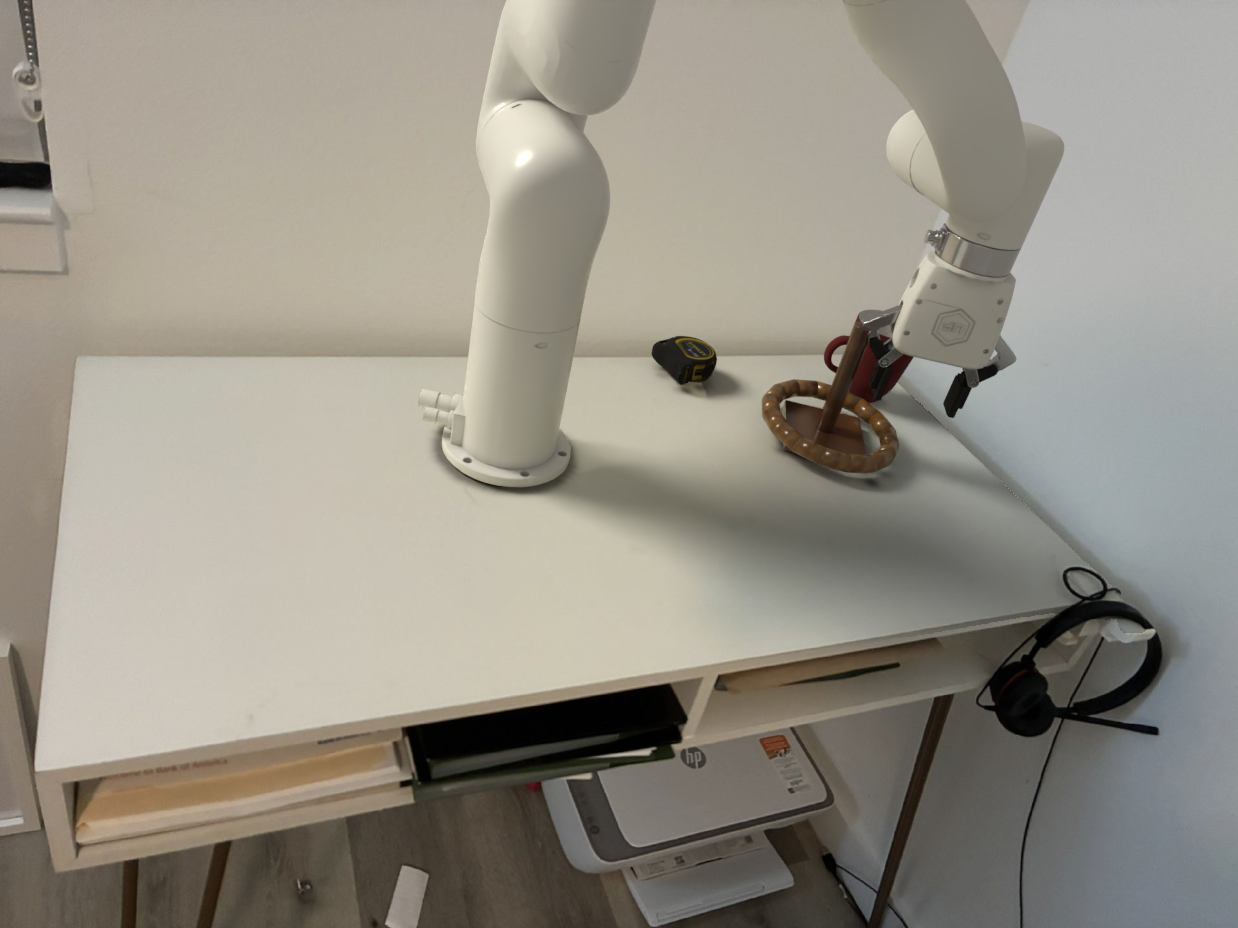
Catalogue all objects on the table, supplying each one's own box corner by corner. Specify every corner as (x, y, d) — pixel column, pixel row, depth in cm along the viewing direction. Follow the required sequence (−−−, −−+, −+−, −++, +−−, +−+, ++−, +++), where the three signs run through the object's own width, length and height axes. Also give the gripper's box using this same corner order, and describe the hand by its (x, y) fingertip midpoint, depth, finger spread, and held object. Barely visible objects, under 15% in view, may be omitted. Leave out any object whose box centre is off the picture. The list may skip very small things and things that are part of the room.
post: (783, 450, 101) (825, 334, 93) (781, 410, 109) (820, 299, 101) (862, 469, 101) (911, 354, 93) (855, 427, 109) (900, 318, 101)
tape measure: (646, 362, 112) (652, 335, 110) (692, 358, 115) (699, 331, 113) (674, 391, 107) (681, 364, 105) (721, 386, 110) (729, 359, 108)
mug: (824, 407, 111) (852, 334, 106) (804, 374, 118) (829, 303, 112) (903, 415, 114) (934, 344, 108) (879, 382, 120) (907, 313, 115)
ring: (760, 453, 97) (766, 438, 96) (758, 377, 110) (764, 363, 109) (903, 492, 98) (911, 477, 97) (884, 412, 111) (891, 398, 110)
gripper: (894, 246, 88) (836, 402, 98) (1072, 287, 88) (996, 438, 98) (886, 220, 94) (832, 369, 104) (1052, 258, 94) (982, 404, 104)
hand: (912, 402), depth 101 cm, fingers open, 7 cm apart
